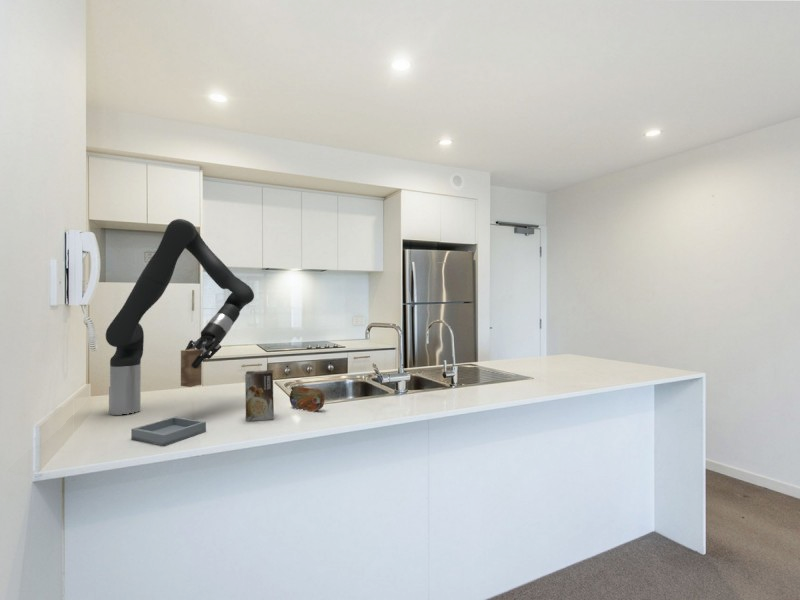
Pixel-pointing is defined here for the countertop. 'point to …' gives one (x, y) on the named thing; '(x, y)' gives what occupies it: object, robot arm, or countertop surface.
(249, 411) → the coffee box
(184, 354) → the walnut block
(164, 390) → the countertop surface
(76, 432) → the countertop surface
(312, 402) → the tin
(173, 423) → the tray
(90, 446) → the countertop surface
